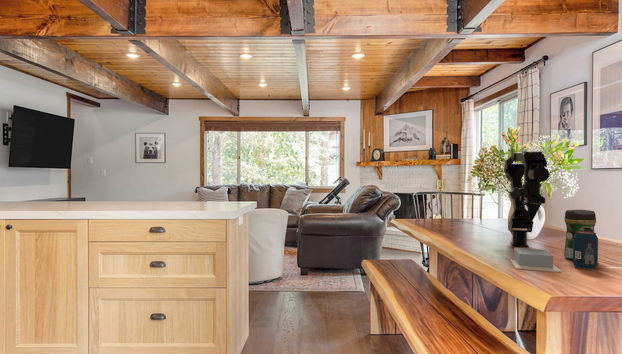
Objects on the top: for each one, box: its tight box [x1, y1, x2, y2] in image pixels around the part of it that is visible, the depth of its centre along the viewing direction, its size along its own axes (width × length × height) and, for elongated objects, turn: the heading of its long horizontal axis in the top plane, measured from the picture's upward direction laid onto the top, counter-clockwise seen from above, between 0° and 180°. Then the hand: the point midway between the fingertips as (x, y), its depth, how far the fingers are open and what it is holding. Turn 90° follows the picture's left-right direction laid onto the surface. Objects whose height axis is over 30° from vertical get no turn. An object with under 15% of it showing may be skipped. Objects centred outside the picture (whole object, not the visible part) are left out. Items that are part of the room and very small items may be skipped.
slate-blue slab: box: [513, 247, 554, 268], centre depth 138 cm, size 4×10×12 cm
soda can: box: [572, 231, 599, 271], centre depth 134 cm, size 7×7×12 cm
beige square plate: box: [509, 258, 562, 273], centre depth 135 cm, size 14×13×1 cm
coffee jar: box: [563, 209, 597, 261], centre depth 148 cm, size 10×8×19 cm
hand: (531, 219), depth 162 cm, fingers closed
